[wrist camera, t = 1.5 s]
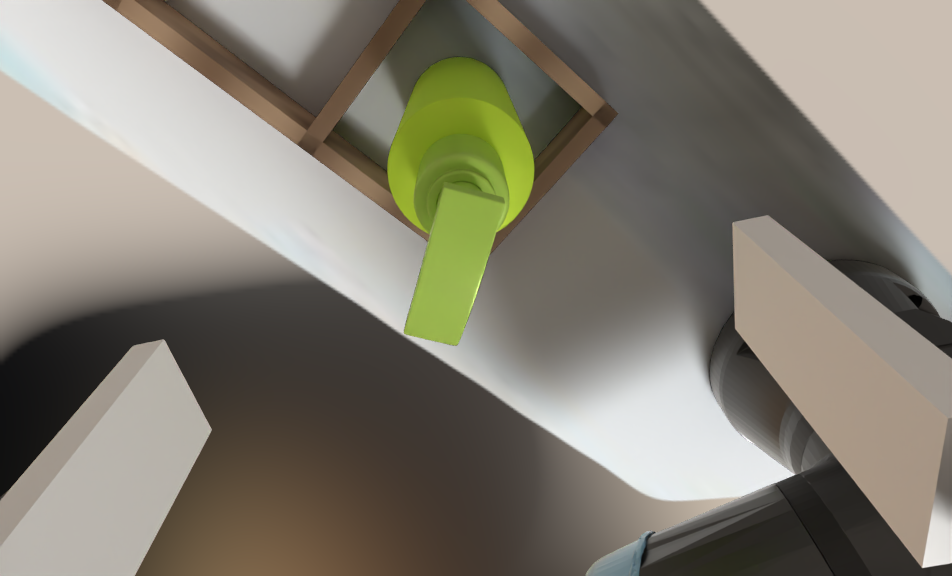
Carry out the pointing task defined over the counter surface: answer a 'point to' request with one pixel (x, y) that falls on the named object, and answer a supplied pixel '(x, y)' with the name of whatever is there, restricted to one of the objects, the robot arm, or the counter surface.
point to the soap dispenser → (457, 185)
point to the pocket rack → (316, 134)
